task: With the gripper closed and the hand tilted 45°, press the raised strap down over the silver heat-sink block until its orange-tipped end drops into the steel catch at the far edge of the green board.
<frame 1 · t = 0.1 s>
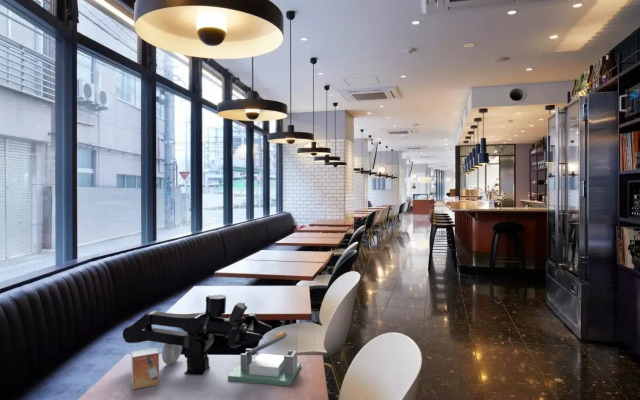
hand: (267, 332, 138), 15 cm above the table, tool horizontal, fingers open, 9 cm apart
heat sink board: (265, 373, 141), on the table
donut: (171, 364, 150), on the table, touching arm
strap: (264, 344, 141), point 10 cm above the table, hinge at 28.0°
small box: (145, 384, 134), on the table
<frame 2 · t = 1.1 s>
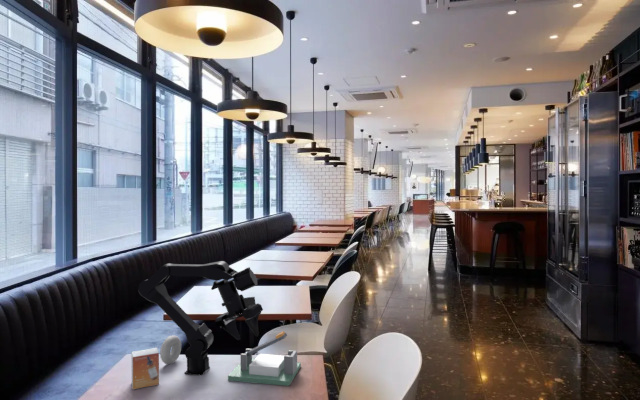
hand: (248, 337, 142), 12 cm above the table, tool tilted 25°, fingers open, 9 cm apart
donut: (171, 363, 150), on the table
everything else where it was.
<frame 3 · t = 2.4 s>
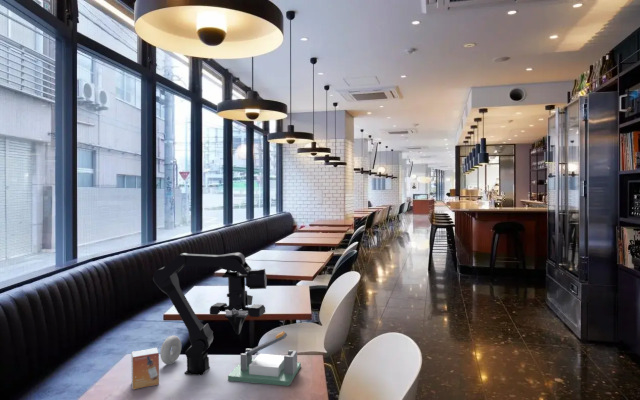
hand: (238, 334, 143), 13 cm above the table, tool pointing down, fingers closed
nothing on the table moved.
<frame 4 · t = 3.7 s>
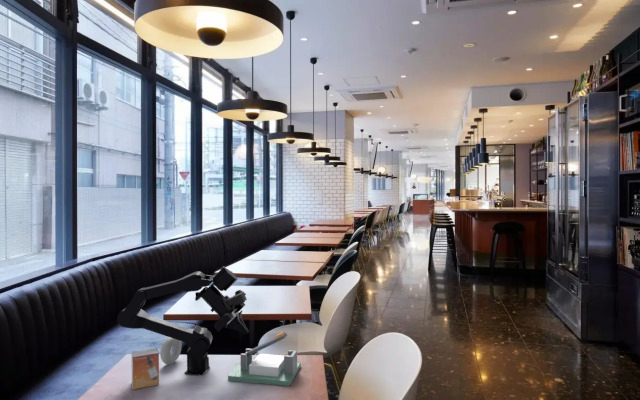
hand: (247, 332, 142), 13 cm above the table, tool tilted 45°, fingers closed
nothing on the table moved.
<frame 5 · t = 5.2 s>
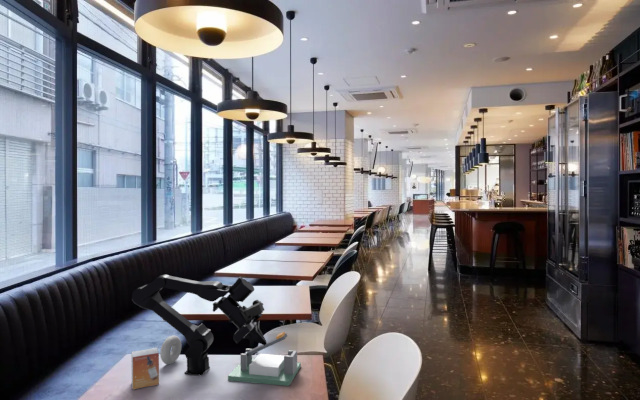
hand: (265, 343, 141), 10 cm above the table, tool tilted 45°, fingers closed, pressing on strap
strap: (264, 344, 141), point 10 cm above the table, hinge at 27.0°, touching gripper
everything else where it was.
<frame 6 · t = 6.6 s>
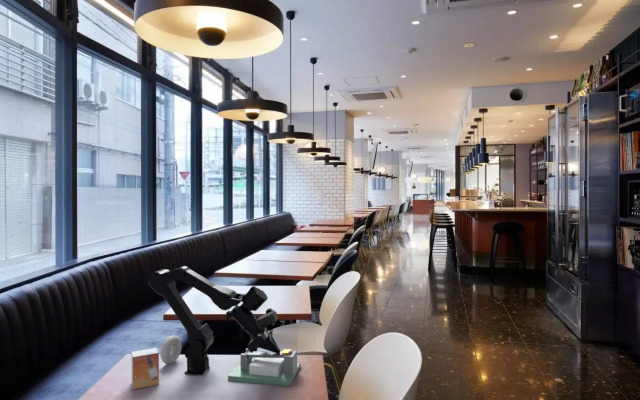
hand: (279, 352, 140), 7 cm above the table, tool tilted 45°, fingers closed, pressing on strap
strap: (267, 353, 141), point 7 cm above the table, hinge at 3.6°, touching gripper
everything else where it was.
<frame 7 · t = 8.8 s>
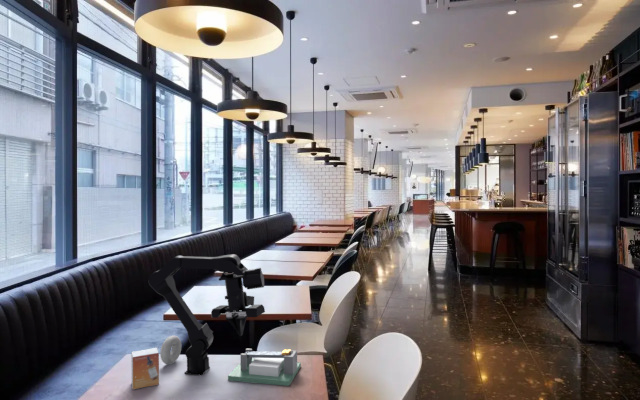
hand: (240, 335, 143), 12 cm above the table, tool pointing down, fingers closed
strap: (267, 353, 141), point 7 cm above the table, hinge at 3.5°
everything else where it was.
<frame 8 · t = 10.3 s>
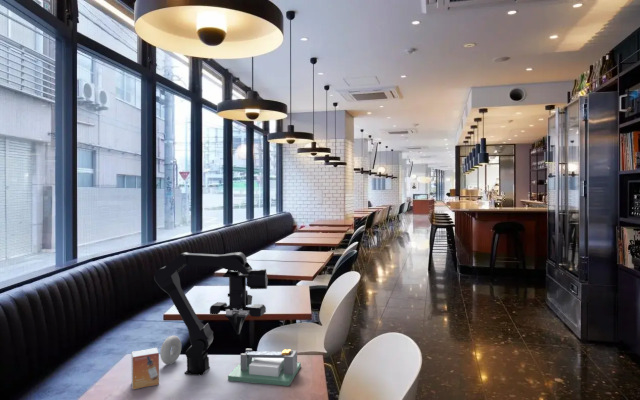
hand: (238, 333, 143), 13 cm above the table, tool pointing down, fingers closed
nothing on the table moved.
at the end: strap at +4° (first picture: +28°) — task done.
